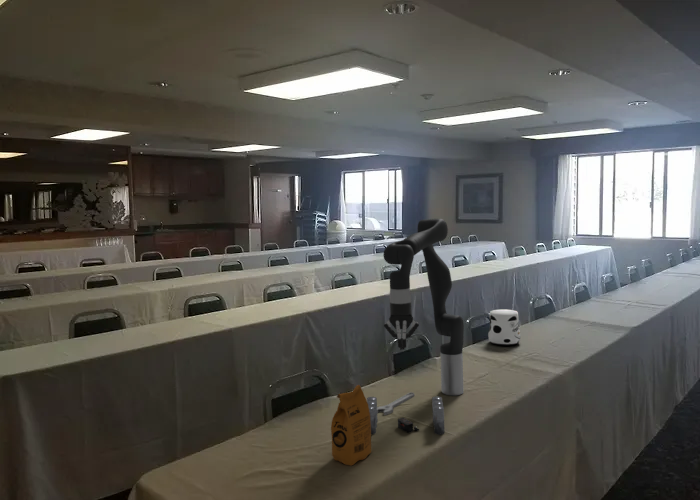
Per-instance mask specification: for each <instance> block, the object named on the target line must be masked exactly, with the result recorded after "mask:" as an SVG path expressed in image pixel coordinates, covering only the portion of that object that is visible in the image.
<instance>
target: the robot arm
mask: <svg viewBox="0 0 700 500" xmlns="http://www.w3.org/2000/svg"><path fill="white" fill-rule="evenodd" d="M448 233H449V229H448V224H447V222H446V221H445V220H444V219H443V218H430V219H429V218H428V219H420V220H419V221H418V224H417V232H415V233H412V234H410V235H408V236H407V237H405V238H403V239H402V240H399V241H395V242H392V243H390V244H388V245H387V246H386V247H385V248H384V251H383V260H384V261H385V262H386V263H387V264H390V265H398V266H399V265H400V268H399V270H395V271H392V272H390V274H389V313H390V314H389V315H390V316H389V318H388V320H387V321H386V322H384V324H383V327H384V328H385V330H386V331H387V332H388V333H389V334H390V335H391V337H393V338H395V339H396V340H397V348H398V349H400V350H405V348H407V339H408V338H411V337H412V335H413V334H414V333H415V332H416V330H417V329H418V327H419V326H420V325H419V324H420V323H419V322H418V321H415V320H414V317H413V315H412V293H411V279H410V276H411V271H412V267H413V262H414V259H415V256H416V255H418V253H420V252H421V251H422V254H423V258H424V261H425V262H424V263H425V267H426V273H427V279H428V284H429V289H430V295H431V300H432V307H433V315H434V316H433V319H434V328H435V330H436V332H437V334H438V335H439V336H443V337H449V338H450V339H449V342H445V343H442V344H441V345H440V348H439V349H440V350H439V351H440V353H439V354H440V381H441V382H440V384H441V385H440V386H441V393H442V394H443V395H447V396H459V395H462V394H464V361H463V359H464V358H463V357H464V356H463V347H464V341H465V340H464V339H465V338H464V337H465V336H464V334H465V323H464V319H463V318H462V316H461V315H458V314H457V315H456V314H448V312H447V311H446V302H447V299H448V298H449V295H450V293H451V290H452V287H453V286H452V285H453V283H452V274H451V272H450V269H449V267H448V265H447V264H446V263H445V261H444V260H443V259H442V258H441V257H440V256H439V254H437V252H436V250H435V248H434V244H437V243H440V242H442V241H444V240H446V238H447V236H448ZM410 326H411V328H410V329H409V330H408V332H407V329H408V328H409V327H410ZM392 327H394V329H396V332H395V331H394V329H393V328H392ZM401 331H402V332H401Z"/></svg>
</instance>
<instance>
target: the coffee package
mask: <svg viewBox="0 0 700 500" xmlns="http://www.w3.org/2000/svg"><path fill="white" fill-rule="evenodd" d="M336 398H337V399H338V400H339V403H338V406H337V410H336V411H335V413H334V415H333V417H332V419H331V425H330V426H331V427H330V431H331V434H330V435H331V456H332V458H333V460H334V461H338V462H339V463H342V464H344V465H346V466H353V465H355V464H356V463H357V462H358V461H362V460H363V461H364V460H365V459H366V458H367V457H368V456H369V455H370V454H372V434H371V423H370V413H369V407H368V403H367V398H366V397H365V394H364V392H363V389H362V387H361V385H360V384H357V385H356V386H355V387H354V388H353V390H352V391H350V392H343V393H338V394H337V395H336Z"/></svg>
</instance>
